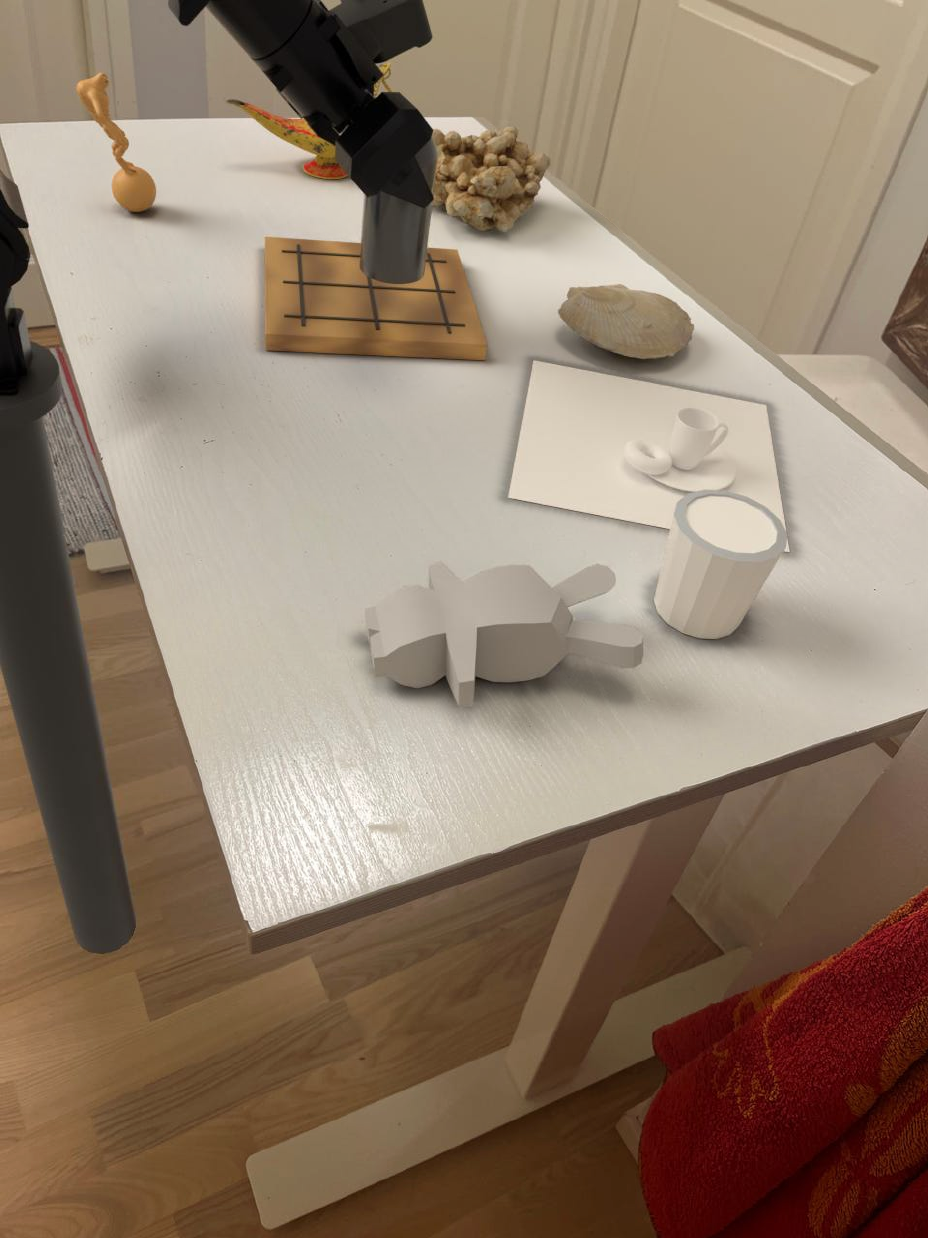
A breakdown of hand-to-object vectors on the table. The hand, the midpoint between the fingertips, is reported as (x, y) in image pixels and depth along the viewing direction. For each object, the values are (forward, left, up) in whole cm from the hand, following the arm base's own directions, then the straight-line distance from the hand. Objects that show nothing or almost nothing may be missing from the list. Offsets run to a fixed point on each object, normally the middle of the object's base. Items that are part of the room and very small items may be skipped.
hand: (415, 188), depth 78 cm
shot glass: (+15, -36, -12) cm, 41 cm away
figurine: (-25, +19, -12) cm, 33 cm away
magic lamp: (-7, +33, -12) cm, 36 cm away
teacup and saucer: (+17, -18, -12) cm, 28 cm away
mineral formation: (+11, +25, -12) cm, 30 cm away
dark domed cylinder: (-1, 0, -7) cm, 7 cm away
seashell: (+19, -1, -12) cm, 23 cm away
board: (-3, +3, -11) cm, 12 cm away
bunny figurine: (+1, -40, -12) cm, 42 cm away
